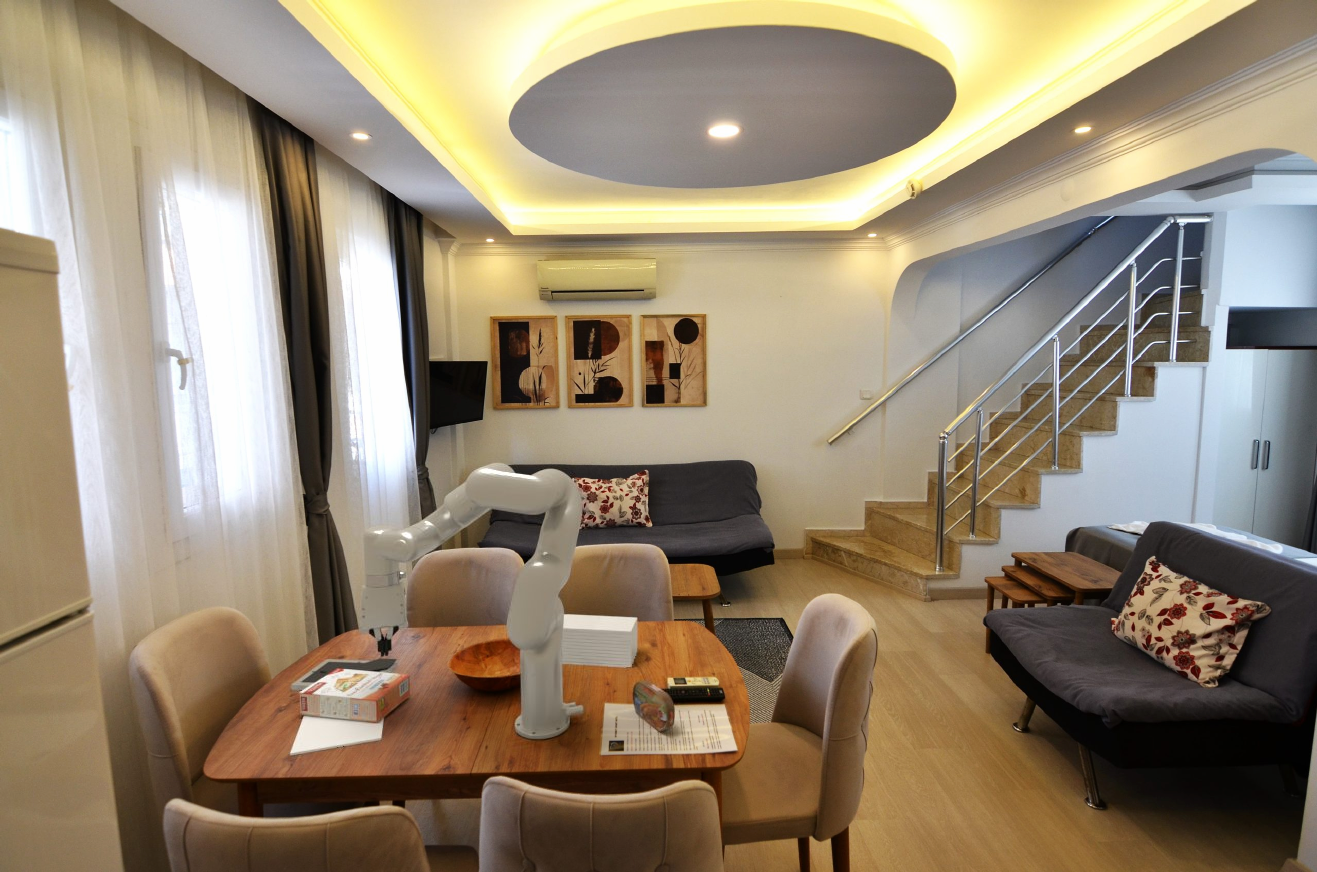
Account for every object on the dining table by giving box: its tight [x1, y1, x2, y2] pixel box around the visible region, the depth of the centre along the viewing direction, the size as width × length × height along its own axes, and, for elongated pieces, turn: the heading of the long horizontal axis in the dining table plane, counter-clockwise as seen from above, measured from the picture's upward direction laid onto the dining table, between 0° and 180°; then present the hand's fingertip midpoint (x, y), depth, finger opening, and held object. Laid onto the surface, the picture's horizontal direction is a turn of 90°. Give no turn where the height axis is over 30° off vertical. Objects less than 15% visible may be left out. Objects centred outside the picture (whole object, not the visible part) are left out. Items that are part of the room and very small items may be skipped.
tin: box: [632, 680, 676, 732], centre depth 152 cm, size 15×3×8 cm, turn 33°
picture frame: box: [290, 657, 398, 691], centre depth 175 cm, size 16×3×21 cm
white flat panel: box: [289, 715, 385, 757], centre depth 152 cm, size 18×22×1 cm
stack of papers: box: [562, 613, 638, 668], centre depth 188 cm, size 32×11×11 cm, turn 83°
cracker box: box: [298, 668, 411, 722], centre depth 159 cm, size 14×6×21 cm
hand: (384, 654), depth 154 cm, fingers closed
